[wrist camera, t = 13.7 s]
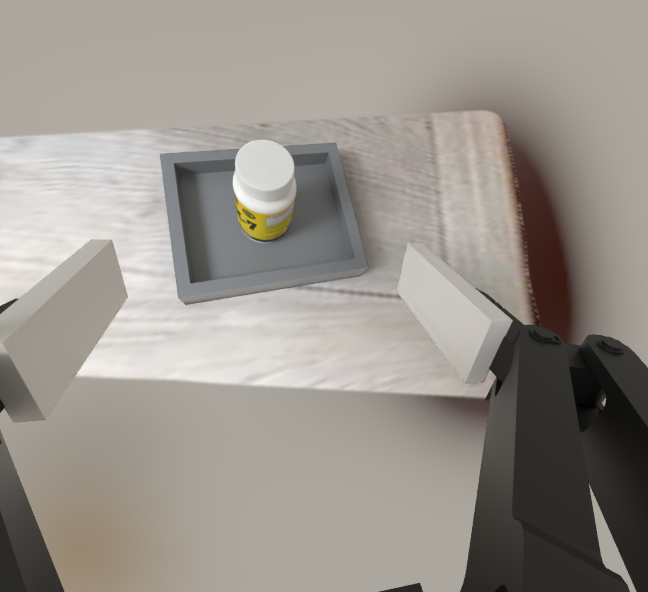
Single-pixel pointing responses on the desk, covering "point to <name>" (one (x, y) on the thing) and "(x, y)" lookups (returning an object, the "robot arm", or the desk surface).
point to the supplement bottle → (264, 190)
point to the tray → (239, 250)
